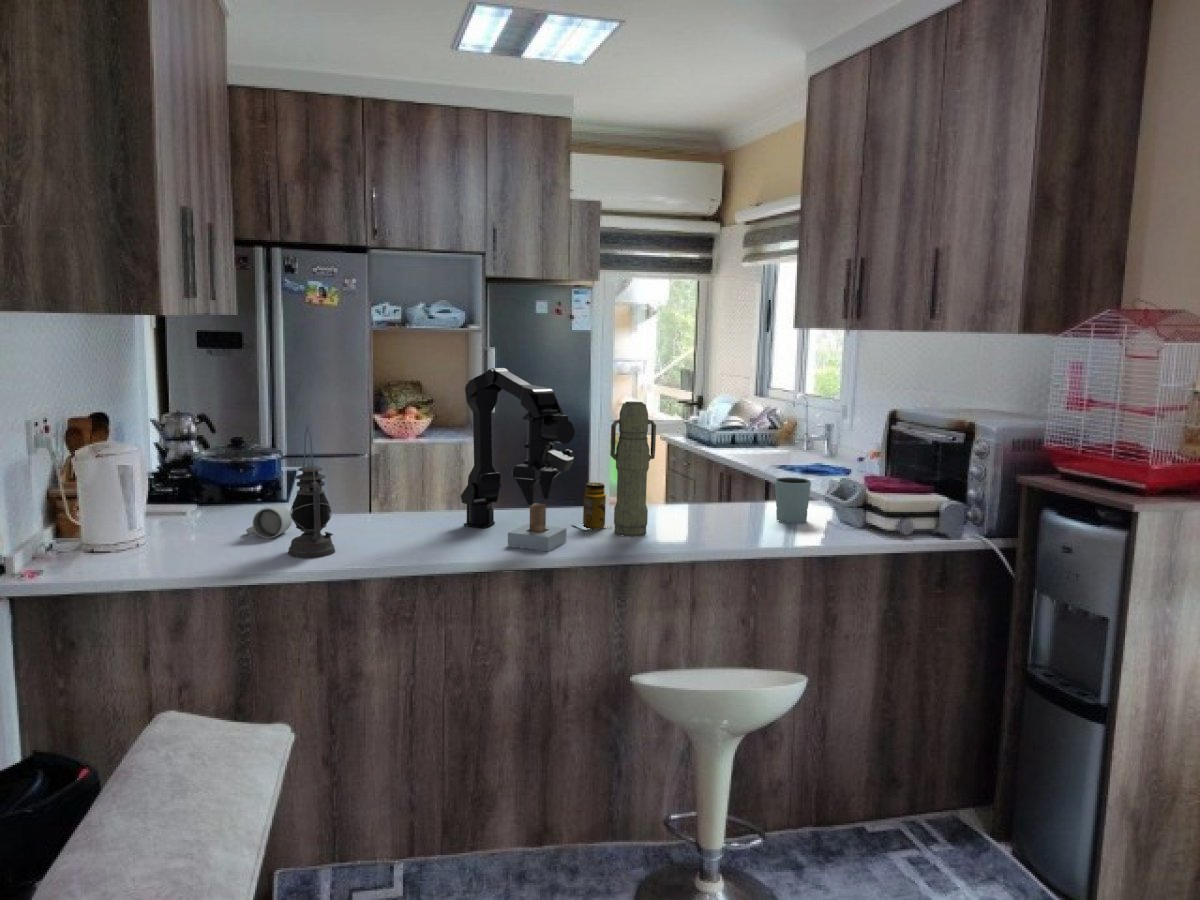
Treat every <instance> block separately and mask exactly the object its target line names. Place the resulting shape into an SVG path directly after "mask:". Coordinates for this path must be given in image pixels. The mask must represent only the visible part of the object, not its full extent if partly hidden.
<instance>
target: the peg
mask: <svg viewBox="0 0 1200 900" xmlns="http://www.w3.org/2000/svg"><path fill="white" fill-rule="evenodd" d="M546 516H547V504H545V503H538V502H537V503H536V502H535V503H534V502H533V505H529V524H530V532H536V533H543V532H545V531H546V526H547V525H546V524H547V523H546V521H547V517H546Z"/></svg>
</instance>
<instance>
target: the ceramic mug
mask: <svg viewBox="0 0 1200 900" xmlns="http://www.w3.org/2000/svg"><path fill="white" fill-rule="evenodd" d="M290 513H291V514H292V511H291V510H290V509H289V508H287V507H285V506H284V505H278V504H277V505H272V506H268V507H264V508H262V509H260V510H258V511H257V512H256V513H255V514H254V516H253V519H252V526H251V527H248V528H246V530H245V531H246V534H247V535H248V536H249V535H252V534H257V536H259V537H261V538H262V539H269V540H270V539H274V538H276V537H278V536H280V535H282V534H283V533H285V532H287V531H288V530H289V529H290V528H291V526H292V523H293V520H292V518H291V515H290Z"/></svg>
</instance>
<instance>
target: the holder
mask: <svg viewBox="0 0 1200 900" xmlns="http://www.w3.org/2000/svg"><path fill="white" fill-rule="evenodd" d="M565 541H566V542H567V527H559V526H551V525H550V526H549V525H546V531H545V532H543V533H536V532H530V523H526V524H523V525H521V526H519V527H517V528H515V529H513V530H510V531H508V532H507V546H508V545H509V546H515V547H514V548H517V547H522V548H521V549H525V548H528V549H527V550H533V549H534V551H543V552H549V551H551V550H554V549H555V548H558V547H559V546H561V545H562V543H563V544H565V543H566V542H565ZM560 544H561V545H560ZM509 546H508V547H509Z"/></svg>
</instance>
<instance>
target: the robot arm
mask: <svg viewBox="0 0 1200 900" xmlns="http://www.w3.org/2000/svg"><path fill="white" fill-rule="evenodd" d="M502 391H504V392H507V393H508V394H510V395H511V396H513V397H515V398H516V399H518V400H519V404H520V406H521V407H522V408H524V409H525V410H526V411H527V413H526V414H525V415H524V416H523V417H522V420H524V421H527V443H524V445H523V447H524V449H527V453H526V455H527V457H526V459H525V460H524V462H523V463H520V464H517V465H514V467H512V468H511V478H513V480H514V481H515V482H516V483H517V484H518V487H519V489H520V491H521V492H522V495H523V497H524V499H525V501H526V503H527V505H528V506H530V505H533V504H534V499H535V493H536V492H535V491H536V485H537V484H538V482H539V486H540V489H541V494H542V497H543V499H546V500H547V499H549V497H550V494H551V490H552V489H553V488H552V487H553V485H554V484H553V483H554V482H555V479H556V477H557V476H558V475H559V474H561V473H565V472H567V471H570V469H571V466H572V465H573V464H574V463H575V460H574V459H575V457H574V452H573V450H570V449H568V448H567V449H565V450H564V451H561V450H560V451H558V450H556V448H555V447H556V445H555V444H554V443H557V444H563V445H567V444H569V443H571V441H573V438H574V436H575V433H576V432H575V431H576V430H575V427H574V425H573V423H572V422H571V421H570V420H569V415H567V414H564V412H563V409H562V407H561V406H560V404H559V401H558V399H557V397H556V395H555V394H556V393H555V392H554V390H553V389H552V388H548V387H546V386H539V385H533V384H531V383H529V382H527V381H526V380H523V379H522V378H520V377H519V376H517V375H516V374H513V373H512V372H510V371H509V370H508V369H507V368H505V367H492V368H489V369H488V370H486V372H484V373H482V374H480V375H478V376H474V377H473V378H472V379H470V380H469V381H468V382H467V383H466V384H465V387H464V392H465V397H466V398H465V399H466V404H467V405H468V407H469V408H470V410H471V412H472V423H473V424H472V428H473V429H472V430H473V432H472V433H473V467H472V469H471V471H470V473H469V474H468V476H467V485H466V487H465V488H464V490H463V491H462V493H461V494H460V499H461V503H462V504H464V505H466V522H465V523H463V526H464V525H468V526H467V527H472V526H475V528H480V527H485V528H487V527H486V526H488V527H489V525H490V526H491V524H492V525H494V523H496V521H495V520H494V519H495V518H494V516H495V515H494V513H495V512H494V511H495V510H494V508H493V503H497V502H498V500H499V495H500V492H501V488H502V485H501V475H502V474H501V473H500V472H499V471H496V469H495V467H494V466H493V465H494V464H493V463H494V462H493V460H494V459H493V422H492V421H493V418H492V417H493V415H492V414H493V411H494V409H495V408H496V405H497V403H498V401H499V400H498V398H499V394H500V393H502Z"/></svg>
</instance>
